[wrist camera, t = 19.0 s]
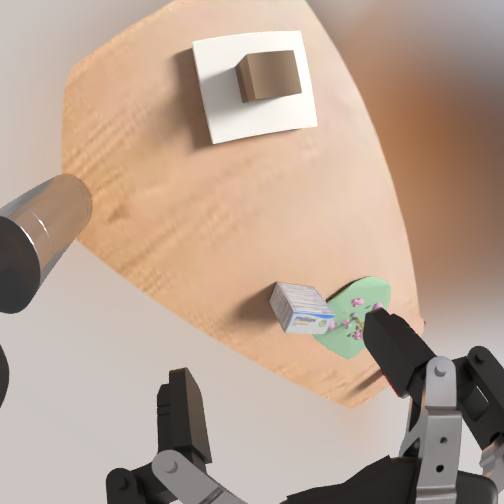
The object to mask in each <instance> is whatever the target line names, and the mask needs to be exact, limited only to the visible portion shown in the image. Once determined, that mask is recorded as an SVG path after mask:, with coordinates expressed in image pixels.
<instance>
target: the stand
mask: <svg viewBox="0 0 504 504" xmlns="http://www.w3.org/2000/svg"><path fill="white" fill-rule="evenodd" d="M284 50H294V54H295V59H296V64H297V69H298V74H299V79H300V84H301V89H302V93H300V94H295V95H290V96H285V97H280V98H273V99H266V100H259V101H253V102H247V103H242V99H241V94H240V89H239V84H238V80H237V75H236V70H235V66H236V65H237V64H238V63H239V61H240V60H241V59H242V58H243V57H244V56H245V55H246V54H251V53H260V52H270V51H284ZM192 51H193V56H194V61H195V66H196V71H197V76H198V81H199V86H200V91H201V95H202V100H203V105H204V110H205V115H206V119H207V124H208V129H209V133H210V138H211V143H213V144H216V143H221V142H225V141H230V140H235V139H239V138H244V137H250V136H255V135H260V134H266V133H272V132H278V131H284V130H291V129H298V128H306V127H314V126H318V125H317V118H316V111H315V105H314V98H313V92H312V86H311V81H310V75H309V70H308V65H307V59H306V54H305V50H304V45H303V40H302V36H301V31H272V32H256V33H245V34H236V35H228V36H221V37H214V38H208V39H203V40H197V41H192Z"/></svg>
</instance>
